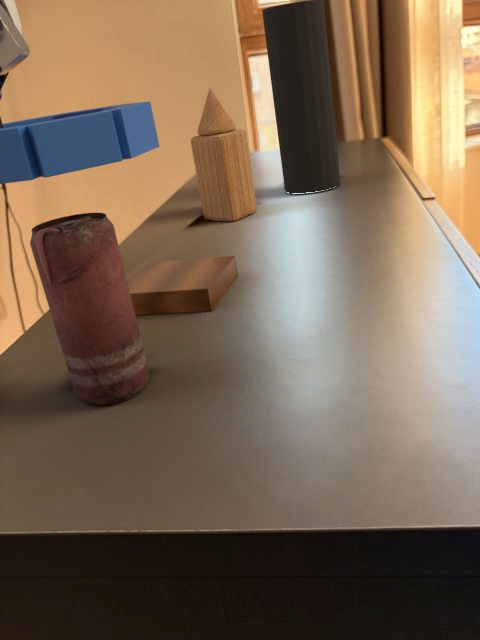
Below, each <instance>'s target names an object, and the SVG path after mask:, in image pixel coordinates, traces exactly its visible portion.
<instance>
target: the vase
mask: <svg viewBox="0 0 480 640" xmlns="http://www.w3.org/2000/svg"><path fill="white" fill-rule="evenodd" d="M325 10H326V9H325V1H324V0H301V1H295V2H289V3H284V4H279V5H273V6H270V7H265V8H263V9H262V10H261V12H262V20H263V22H262V23H263V28H264V37H265V44H266V52H267V61H268V69H269V75H270V77H269V78H270V84H271V92H272V99H273V107H274V114H275V115H274V116H275V123H276V131H277V139H278V147H279V148H278V149H279V154H280V162H281V163H280V164H281V171H282V179H283V185H284V192H285V191H286V192H289V193H306V192H315V191H321V190H326V189H329V188H333V187H335V186H338V185H339V184H340V185H341V176H340V165H339V154H338V142H337V130H336V119H335V111H334V98H333V88H332V87H333V86H332V77H331V66H330V65H331V64H330V55H329V42H328V32H327V31H328V30H327V21H326V11H325ZM340 185H339V186H340ZM339 186H338V187H339ZM286 192H285V193H286Z"/></svg>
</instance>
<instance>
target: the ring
mask: <svg viewBox="0 0 480 640" xmlns="http://www.w3.org/2000/svg"><path fill="white" fill-rule="evenodd" d="M155 122H156V121H155V118H154V112H153V109H152V103H151V101H142V102H141V101H140V102H130V103H129V102H128V103H122V104H114V105H108V106H107V105H106V106H101V107H95V108H89V109H82V110H76V111H69V112H63V113H62V112H61V113H57V114H51V115H45V116H39V117H33V118H32V117H31V118H28V119H22V120H21V119H20V120H16V121H9V122H3V123H2V124H3V127H4V128H1V129H0V185H2V184H3V185H4V184H11V183H19V182H27V181H34V180H37V179H39V178H51V177H55V176H60V175H64V174H69V173H73V172H77V171H78V172H79V171H83V170H87V169H92V168H97V167H101V166H105V165H111V164H116V163H119V162H123V160H130V159H133V158H136V157H139V156H140V155H143V154H145V153H148V152H150V151H153V150H155V149H158V148H160V143H159V142H160V141H159V137H158V133H157V128H156V123H155Z"/></svg>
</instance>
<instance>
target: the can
mask: <svg viewBox="0 0 480 640" xmlns="http://www.w3.org/2000/svg"><path fill="white" fill-rule="evenodd" d="M30 230H31V237H30V241H29V245H30V248H31V252H32V256H33V258H34V262H35V265H36V269H37V271H38V275H39V279H40V282H41V285H42V289H43V292H44V295H45V299H46V302H47V305H48V308H49V312H50V315H51V319H52V322H53V325H54V328H55V332H56V335H57V339H58V343H59V345H60V349H61V352H62V355H63V359H64V363H65V366H66V368H67V372H68V375H69V379H70V382H71V386H72V389H73V392H74V395H75V396H76V397H77V398H78V399H79V400H80V401H81V402H83V403H84V404H86V405H89V406H94V407H96V406H97V407H102V406H112V405H117V404H121V403H123V402H126V401H128V400H130V399H133V398H134V397H136V396H138V395H140V394H141V393H142V392H143V391H144V390H145V389H146V388H147V385H148V383H149V380H150V377H151V374H150V370H149V367H148V366H149V365H148V361H147V358H146V353H145V350H144V345H143V341H142V337H141V333H140V329H139V324H138V321H137V317H136V316H137V315H135V312H134V308H133V303H132V299H131V295H130V291H129V287H128V283H127V280H128V279H127V275H126V270H125V267H124V263H123V258H122V254H121V251H120V250H121V249H120V246H119V242H118V241H119V240H118V238H117V234H116V229H115V226H114V223H113V222H112V221H111V220H110V219H109V217H107V214H106V213H104V212H86V213H77V214H71V215H67V216H61V217H58V218H53V219H50V220H47V221H43V222H42V223H39V224H37V225H35V226H34V227H32V228H31V229H30Z"/></svg>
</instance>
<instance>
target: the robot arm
mask: <svg viewBox="0 0 480 640" xmlns="http://www.w3.org/2000/svg"><path fill="white" fill-rule="evenodd" d="M29 56H30V47H29V45H28V43H27V42H26V40H25V39H24V37H23V29H22V22H21V19H20V15H19V11H18V8H17V5H16V1H15V0H0V101H1V100H2V98H3V92H2V89H3V86H4V85H5V82H6V80H7V78H8V76H9V74H10V71H12V70H14V69H15V68H16V67H17V66H19V65H20V64H22V62H24V61H25V60H26V59H27V58H28V57H29ZM3 124H4V123H3V121H2V118H1V116H0V129H1V128H4V127H3Z"/></svg>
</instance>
